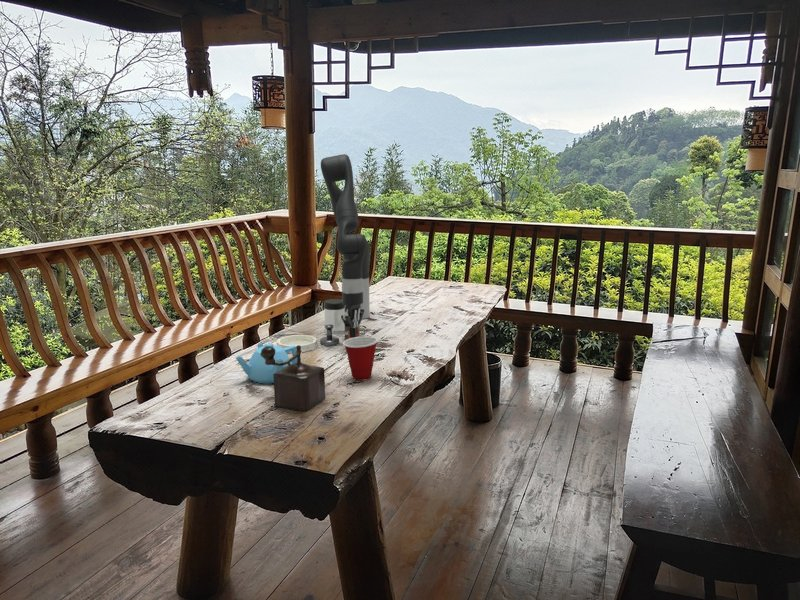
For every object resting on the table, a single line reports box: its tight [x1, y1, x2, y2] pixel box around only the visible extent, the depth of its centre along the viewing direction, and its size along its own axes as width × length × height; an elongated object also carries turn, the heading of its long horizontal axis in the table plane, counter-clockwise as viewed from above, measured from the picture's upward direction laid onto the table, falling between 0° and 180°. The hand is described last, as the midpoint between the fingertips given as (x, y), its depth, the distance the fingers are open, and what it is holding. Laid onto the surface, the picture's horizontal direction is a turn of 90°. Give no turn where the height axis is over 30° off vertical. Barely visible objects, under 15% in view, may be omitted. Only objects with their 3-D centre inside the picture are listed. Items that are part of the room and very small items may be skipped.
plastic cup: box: [342, 335, 379, 381], centre depth 183 cm, size 11×11×12 cm
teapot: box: [235, 342, 302, 385], centre depth 183 cm, size 15×15×11 cm
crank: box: [332, 331, 361, 339], centre depth 218 cm, size 10×2×4 cm, turn 88°
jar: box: [323, 298, 345, 334], centre depth 234 cm, size 9×8×12 cm
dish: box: [276, 334, 318, 354], centre depth 214 cm, size 14×14×3 cm
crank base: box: [319, 324, 340, 347], centre depth 218 cm, size 7×7×7 cm
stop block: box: [344, 323, 361, 341], centre depth 224 cm, size 5×5×7 cm
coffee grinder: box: [260, 345, 326, 413], centre depth 161 cm, size 16×11×18 cm
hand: (353, 337), depth 216 cm, fingers closed
